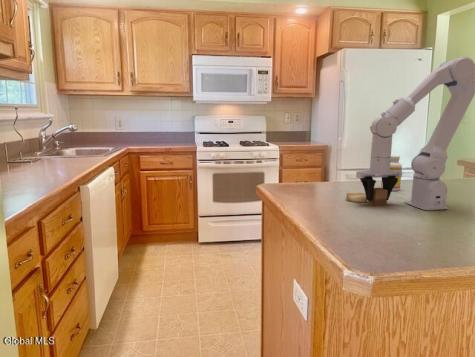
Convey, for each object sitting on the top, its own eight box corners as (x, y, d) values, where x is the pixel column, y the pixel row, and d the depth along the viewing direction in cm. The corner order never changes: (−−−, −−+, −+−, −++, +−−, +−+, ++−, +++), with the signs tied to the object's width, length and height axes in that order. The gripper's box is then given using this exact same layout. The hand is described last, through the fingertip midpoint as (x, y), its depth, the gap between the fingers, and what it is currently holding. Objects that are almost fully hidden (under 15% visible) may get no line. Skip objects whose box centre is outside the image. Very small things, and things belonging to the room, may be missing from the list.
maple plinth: (371, 202, 113) (371, 196, 113) (352, 203, 112) (353, 197, 112) (360, 197, 120) (360, 191, 119) (342, 198, 118) (343, 192, 118)
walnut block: (386, 205, 109) (387, 190, 108) (374, 206, 108) (376, 190, 108) (378, 202, 113) (380, 187, 112) (367, 203, 112) (368, 188, 111)
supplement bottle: (402, 191, 130) (406, 156, 128) (384, 191, 130) (387, 156, 128) (395, 187, 137) (398, 154, 135) (378, 187, 137) (380, 154, 135)
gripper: (393, 155, 113) (390, 196, 116) (352, 155, 111) (349, 198, 113) (408, 157, 107) (404, 201, 109) (364, 158, 104) (361, 203, 106)
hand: (377, 200), depth 111 cm, fingers open, 5 cm apart
